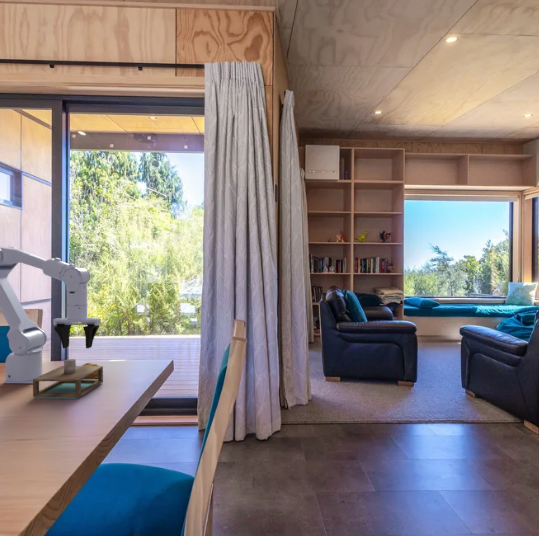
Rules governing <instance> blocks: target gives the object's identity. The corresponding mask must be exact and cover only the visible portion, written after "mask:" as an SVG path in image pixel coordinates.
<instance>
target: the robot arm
mask: <svg viewBox="0 0 539 536" xmlns="http://www.w3.org/2000/svg"><path fill="white" fill-rule="evenodd" d="M19 263H21V264H24V265H27V266H31V267H33V268H36V269H40V270H42V273H43V274H44V275H45V276H48V277H50V278H53V279H56V280H58V281H61V282H63V283H64V285H65V289H66V317H62V318H61V317H60V318H59V317H57V318H53V321H52V322H53V326H54V329H53V330H54V331H55V332H56V334H57V335H58V337H59V340H60V342H61V346H62V349H67V348H68V347H69V346H70V335H71V334H70V332H71V327H72V326H83V327H82V328H83V332H84V337H85V349H91V348H93V347H92V346H93V342H94V339H95V336H96V334H97V332H98V330H99V328H100V325H101V324H102V323H101V318H95V317H94V318H93V317H88V288H87V287H88V286H87V285H88V283H89V281H90V280H91V273H90V271H89V270H88V269H86V268H85V267H84V266H78V267H76V265H75V263H68V262H64V261H62V258H59V257H55V258H49V259H45V258H43V257H41V256H39V255H36V254H33V253H31V252H29V251H28V250H27V251H26V250H24V249H22V248H17V247H15V246H0V311H1V313H2V315H3V317H4V319H5V321H6V323H7V325H8V326H9V329H8V332H7V334H6V337H7V339H8V345H9V347H8V348H9V349H10V351H11V352H10V353H9V354H8V355H7V357H6V358H5V362H4V363H5V366H4V367H5V381H3V384H33V379H34V378H37V377H39V376H41V375H43V374H44V373H43V350H44V346H45V345H46V343H47V340H48V335H47V333H46V331H44V330H43V329H42V328H41V327H39V325H38V323H36V322H34V321H32V320H31V319H30V318H29V316H28V314H27V312H26V311H25V308H24V307H23V306H22V303H21V302H20V300H19V297H18V296H17V294H16V293H15V290H14V288H13V286H12V285H11V283H10V281H9V279H8V277H9V274H11V272H12V271H13V270H14V269H15V267H16V266H17V265H18V264H19Z"/></svg>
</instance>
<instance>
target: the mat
mask: <svg viewBox="0 0 539 536" xmlns="http://www.w3.org/2000/svg"><path fill="white" fill-rule="evenodd" d="M91 384H93V383H81V391H82V390H83V389H85V388H87V387H88V386H90V385H91ZM98 386H99V385H97V386H96V387H98ZM96 387H94V388H93V389H95V388H96ZM93 389H91V390H90V391H92V390H93ZM90 391H88V392H87V393H89V392H90ZM45 393H75V383H62V384H60V385H58V386H56V387H54V388H52V389H51V390H49V391H47V392H45ZM87 393H85V394H87ZM85 394H84V395H85ZM81 397H82V396H80V397H34V399H55V400H57V399H60V400H61V399H62V400H63V399H64V400H65V399H66V400H67V399H68V400H69V399H73V400H76V399H77V400H78V399H79V398H81Z"/></svg>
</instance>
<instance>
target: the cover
mask: <svg viewBox="0 0 539 536" xmlns="http://www.w3.org/2000/svg"><path fill="white" fill-rule="evenodd" d="M96 371H98V378H95V379H84V378H86V377H88V376H89V375H91V374H93V373H95V372H96ZM42 374H43V375H41V376H39V377H37V378H34V379H33V383H32V397H33V398H35V397H79V398H81V397H82V396H84V395H85V393H86V394H87V393H89V392H90V391H92V390H93V389H95V388H96V387H98V386H99V385H100V384H102V383H103V382H104V366H103V365H98V366H82V365H77V363H76V358H69V359H64V361H63V365H61V366H58V367H57V368H54V369H52V370H50V371H48V372H46V373H42ZM40 382H54V383H52V384H50V385H47V386H46V387H44V388H41V389H40ZM62 383H75V393H45V392H47V391H49V390H51V389H52V388H54V387H56V386H58V385H60V384H62ZM81 383H93V384H91V385H90V386H88V387H87V388H85V389H83V390H82V391H81ZM97 385H98V386H97ZM94 387H95V388H94ZM91 389H92V390H91ZM88 391H89V392H88ZM80 396H81V397H80Z"/></svg>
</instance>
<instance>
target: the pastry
mask: <svg viewBox="0 0 539 536" xmlns="http://www.w3.org/2000/svg"><path fill="white" fill-rule="evenodd" d="M81 366H99V364H95V363H92V362H87V363H84V364H83V365H81ZM85 379H98V371H96V372H95V373H93V374H91V375H89V376H88V377H86V378H85Z"/></svg>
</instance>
